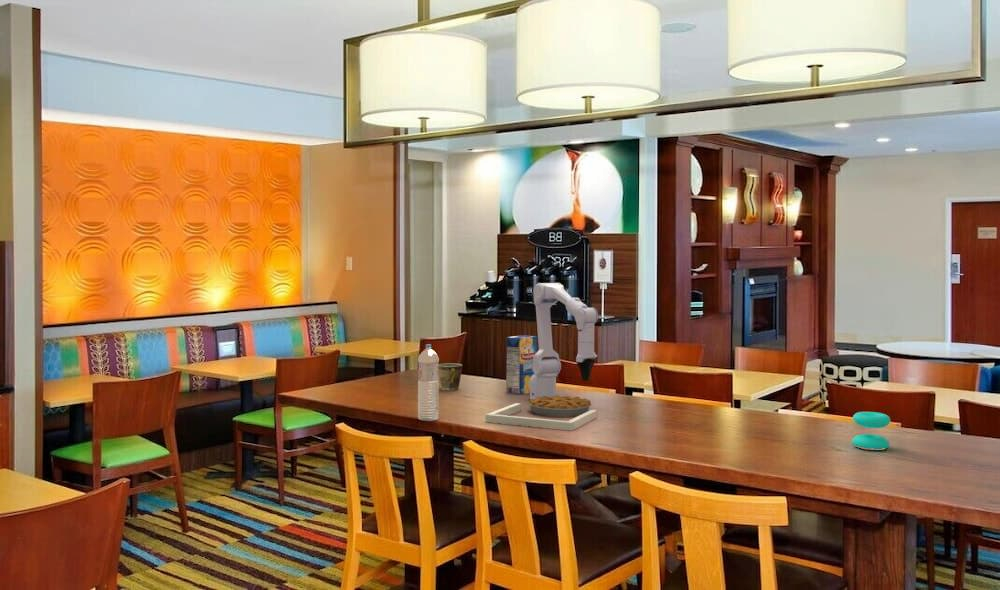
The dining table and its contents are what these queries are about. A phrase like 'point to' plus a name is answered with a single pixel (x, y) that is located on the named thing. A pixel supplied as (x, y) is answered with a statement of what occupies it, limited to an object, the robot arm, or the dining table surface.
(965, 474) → the dining table surface
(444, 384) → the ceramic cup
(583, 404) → the pie
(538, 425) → the serving corral
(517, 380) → the beverage box
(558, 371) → the robot arm
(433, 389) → the water bottle
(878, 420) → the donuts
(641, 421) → the dining table surface
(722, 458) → the dining table surface
